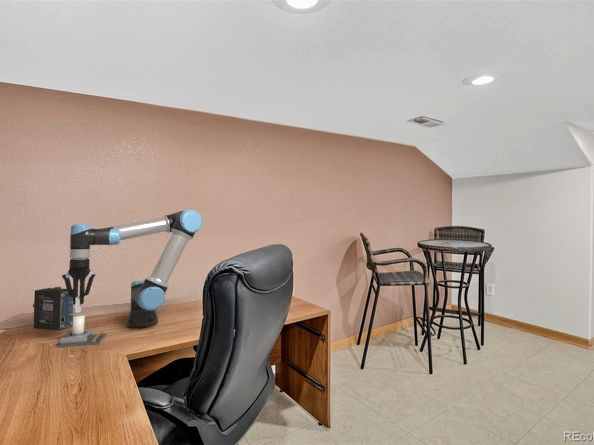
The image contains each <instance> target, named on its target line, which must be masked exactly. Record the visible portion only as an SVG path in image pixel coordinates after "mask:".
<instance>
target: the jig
mask: <svg viewBox="0 0 594 445" xmlns="http://www.w3.org/2000/svg"><path fill="white" fill-rule="evenodd" d="M107 334H108V333H107V332H106V333H105V332H104V330H103V331H102V330H100V331H99V332H98V333H95V329H84V335H78V336H72V330H69V331H67V332H66V333H65V334H63V336H61V337H60V341H59V342H58V344H56V345H55V348H56V347H58V348H71V347H82V346H83V347H84V346H96V345H99V346H100V344H101V343H102V341H103V340H105V338H106V337H107Z"/></svg>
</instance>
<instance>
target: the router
mask: <svg viewBox="0 0 594 445" xmlns="http://www.w3.org/2000/svg"><path fill="white" fill-rule="evenodd" d="M72 290H73V288H72ZM33 296H34V297H33V298H34V301H33V303H32V308H33V317H32V319H33V327H32V329H35V330H37V329H38V330H48V331H62V330H65V329H68V328H71V327H73V316H74V305H73V297H71V296H68V292H67V288H62V286H54V287H46V288H42V289H41V288H40V289H35V290H34V295H33Z"/></svg>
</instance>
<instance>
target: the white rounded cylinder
mask: <svg viewBox="0 0 594 445" xmlns="http://www.w3.org/2000/svg"><path fill="white" fill-rule="evenodd" d="M85 317H86V316H85V315H83V314H79V315H73V326H72V328H71V331H72V336H78V335H84V330H85V321H86V320H85Z"/></svg>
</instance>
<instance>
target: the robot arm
mask: <svg viewBox="0 0 594 445" xmlns="http://www.w3.org/2000/svg"><path fill="white" fill-rule="evenodd" d="M202 226H203V218H202V216H201V214H200V213H199V212H197V211H196V210H193V209H186V210H181V211H180V210H179V211H177V212H174V213H171V214H166V215H163V217H160V218H154V219H149V220H142V221H138V222H137V221H136V222H131V223H126V224H125V223H124V224H121V225H120V224H119V225H116V226H109V227H104V228H103V227H102V228H92V226H91V224H87V223H86V224H85V223H79V224H78V223H74V224H73V223H72V225H70V234H69V235H70V238H69V239H70V240H69V258H70V259H69V268H68V272H66V273H65V274H62V275H61V277H62V279H63V280H64V284H65V287H66V288H65V289H67V292H68V296H71V297H73V306H74V305H75V306H74V308H75V310H74V311H75V312H74V313H76V314H77V313H81V312H82V305H84V302H85V296H88V295H89V294H90V291H91V288H92V284H93V282H94V279H95V278H96V275H97V273H94V272H92V271H91V269H90V263H91V262H90V261H91V260H90V259H89V258H90V256H91V246H118V245H119V244H120V243H121V241H123V240H127V239H128V240H129V239H133V238H134V239H135V238H138V237H143V236H149V235H153V234H160V233H164V232H166V233H171V236H170V238H169V240H168V242H167V243H166V246H164V249H163V251H162V253H161V256H160V257H159V259H158V261H157V262H156V264H155V267H154V268H153V270H152V273H151V275H149V276H148V277H146V278H145V279H143V280H134V281H132V282H131V286H130V311H129V314H128V317H127V320H126V327H127V328H147V327H148V328H149V327H152V326H155V325H157V324H158V322H159V317H158V313H157V311H156V310H158V309H159V308H160V307H162V305H164V303H165V300H166V292H167V290H168V288H169V285H168V282H169V279H170V277H171V276H172V274H173V271H174V269H175V268H176V266H177V264H178V262H179V260H180V257H181V255H183V252H184V249H185V248H186V246H187V244H188V241H190V240H192V239H194V236H195V234H196V232H198V231H199V230H200V229H201V228H202ZM70 277H71V278H72V282H71V280H70V279H71V278H70ZM87 277H88V280H87V284H85V282H86V278H87ZM72 283H73V284H72ZM85 286H86V287H85ZM72 289H73V290H72Z"/></svg>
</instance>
